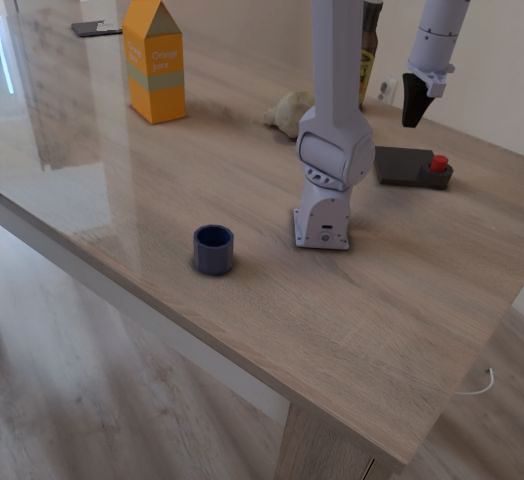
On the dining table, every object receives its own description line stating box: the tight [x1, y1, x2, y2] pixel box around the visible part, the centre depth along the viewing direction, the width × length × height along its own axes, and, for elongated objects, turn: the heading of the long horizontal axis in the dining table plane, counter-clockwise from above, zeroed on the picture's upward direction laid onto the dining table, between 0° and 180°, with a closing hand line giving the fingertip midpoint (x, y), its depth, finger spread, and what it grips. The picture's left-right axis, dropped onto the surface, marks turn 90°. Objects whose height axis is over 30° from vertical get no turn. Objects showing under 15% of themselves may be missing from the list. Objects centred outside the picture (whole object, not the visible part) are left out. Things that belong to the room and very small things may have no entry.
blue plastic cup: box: [192, 223, 235, 276], centre depth 66 cm, size 5×5×4 cm
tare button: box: [430, 154, 450, 172], centre depth 84 cm, size 3×3×2 cm
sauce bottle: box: [358, 0, 384, 111], centre depth 97 cm, size 6×6×20 cm
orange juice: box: [122, 0, 187, 125], centre depth 89 cm, size 8×9×20 cm
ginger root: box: [263, 90, 315, 139], centre depth 93 cm, size 15×7×15 cm
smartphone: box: [70, 19, 123, 37], centre depth 123 cm, size 8×1×15 cm
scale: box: [373, 145, 455, 190], centre depth 88 cm, size 13×13×3 cm
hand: (408, 125), depth 78 cm, fingers closed
